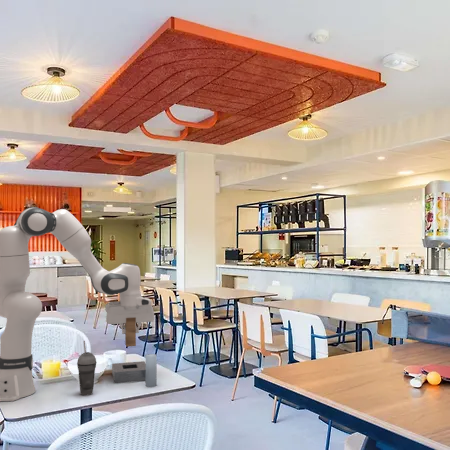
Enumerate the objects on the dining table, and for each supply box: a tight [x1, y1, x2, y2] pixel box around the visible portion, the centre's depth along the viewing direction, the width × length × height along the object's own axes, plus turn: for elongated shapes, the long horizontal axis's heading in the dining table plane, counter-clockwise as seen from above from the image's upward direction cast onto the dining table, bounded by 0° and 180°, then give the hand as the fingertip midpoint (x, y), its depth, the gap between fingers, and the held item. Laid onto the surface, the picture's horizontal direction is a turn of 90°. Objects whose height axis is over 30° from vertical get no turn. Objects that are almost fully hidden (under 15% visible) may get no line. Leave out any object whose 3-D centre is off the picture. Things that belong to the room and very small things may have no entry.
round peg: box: [144, 353, 158, 388], centre depth 194 cm, size 4×4×12 cm
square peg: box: [124, 317, 137, 347], centre depth 206 cm, size 4×4×12 cm
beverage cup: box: [76, 340, 97, 396], centre depth 184 cm, size 7×7×20 cm
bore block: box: [111, 360, 146, 384], centre depth 205 cm, size 14×14×4 cm
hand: (130, 333), depth 206 cm, fingers closed on square peg, 4 cm apart
